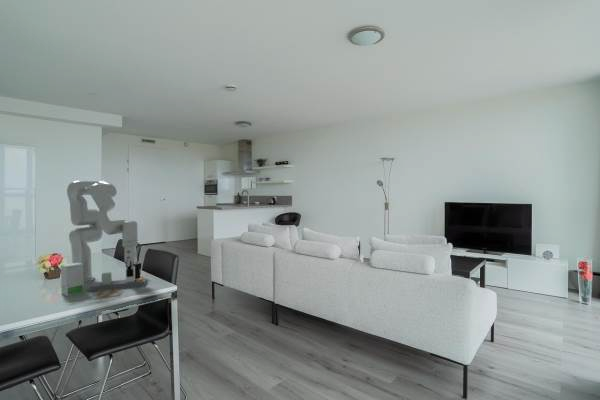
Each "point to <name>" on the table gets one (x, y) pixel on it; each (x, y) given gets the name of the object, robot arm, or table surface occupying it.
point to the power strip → (118, 284)
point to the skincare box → (72, 279)
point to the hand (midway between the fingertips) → (130, 275)
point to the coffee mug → (137, 269)
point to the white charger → (130, 279)
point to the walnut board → (109, 293)
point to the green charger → (106, 278)
